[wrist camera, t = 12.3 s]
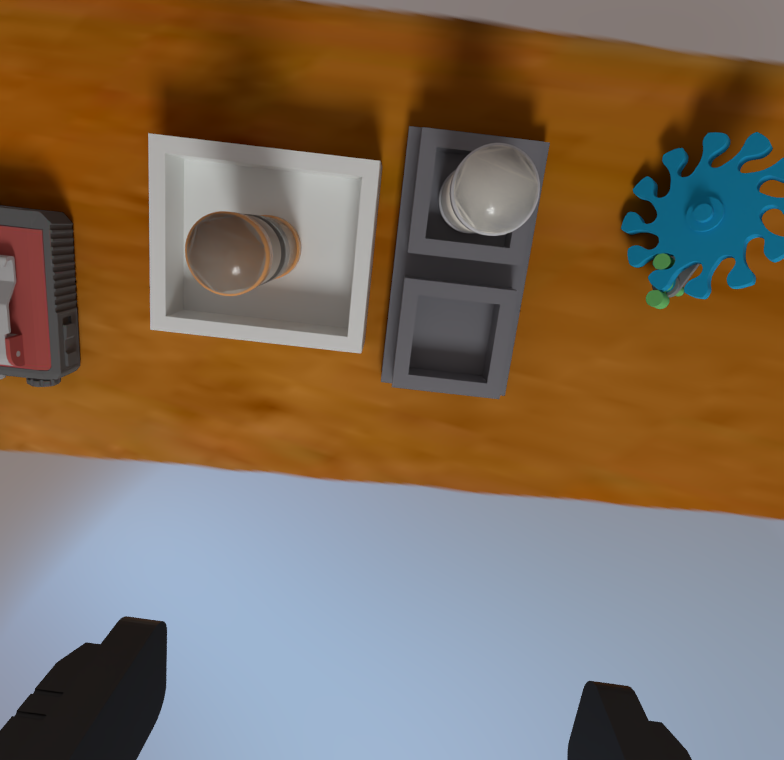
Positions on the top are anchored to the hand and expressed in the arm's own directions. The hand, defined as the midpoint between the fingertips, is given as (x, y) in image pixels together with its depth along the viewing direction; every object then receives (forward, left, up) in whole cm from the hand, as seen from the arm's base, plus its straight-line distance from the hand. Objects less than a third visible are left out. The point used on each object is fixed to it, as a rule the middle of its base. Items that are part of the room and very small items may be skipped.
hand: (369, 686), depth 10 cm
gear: (-18, -11, -31) cm, 37 cm away
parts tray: (+9, -6, -30) cm, 32 cm away
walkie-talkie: (+27, +2, -31) cm, 41 cm away
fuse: (-4, -11, -29) cm, 31 cm away
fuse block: (-4, -6, -30) cm, 31 cm away
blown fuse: (+9, -6, -30) cm, 32 cm away
